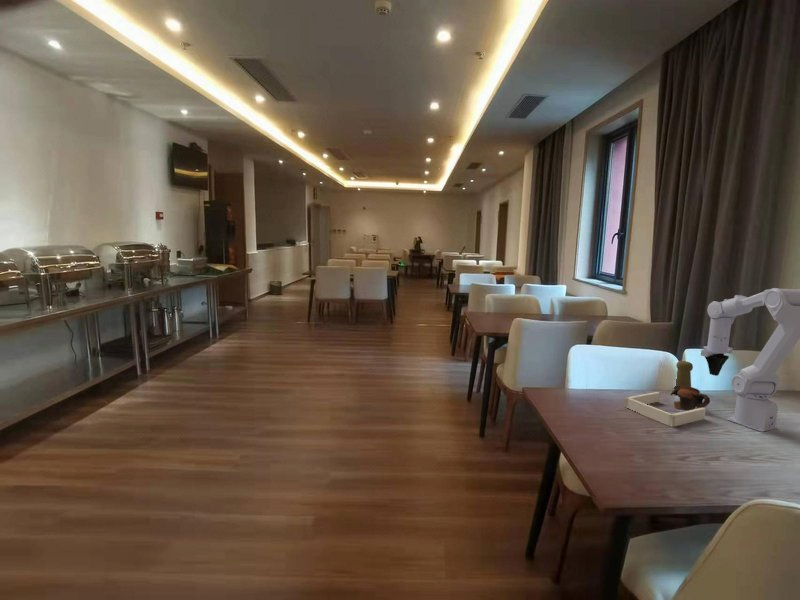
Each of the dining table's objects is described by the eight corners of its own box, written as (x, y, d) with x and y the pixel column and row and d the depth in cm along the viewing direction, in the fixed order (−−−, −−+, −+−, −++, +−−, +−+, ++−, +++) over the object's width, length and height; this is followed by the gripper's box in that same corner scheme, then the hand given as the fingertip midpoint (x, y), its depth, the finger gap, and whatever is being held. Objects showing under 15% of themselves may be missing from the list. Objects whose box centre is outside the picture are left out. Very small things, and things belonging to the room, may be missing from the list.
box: (704, 419, 132) (705, 408, 132) (671, 426, 126) (673, 415, 125) (656, 401, 147) (657, 391, 146) (624, 407, 140) (625, 397, 140)
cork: (675, 391, 158) (678, 362, 157) (670, 385, 164) (673, 358, 162) (693, 393, 156) (697, 364, 155) (687, 387, 162) (691, 360, 161)
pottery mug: (663, 406, 143) (666, 383, 146) (678, 414, 147) (680, 392, 150) (703, 410, 133) (704, 385, 136) (717, 418, 137) (718, 394, 140)
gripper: (718, 332, 150) (714, 369, 152) (693, 335, 144) (688, 373, 146) (741, 337, 143) (736, 375, 145) (715, 340, 137) (710, 379, 139)
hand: (713, 374), depth 145 cm, fingers closed
